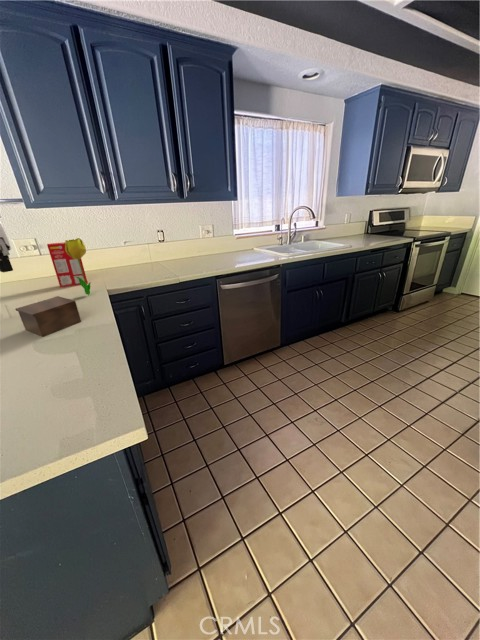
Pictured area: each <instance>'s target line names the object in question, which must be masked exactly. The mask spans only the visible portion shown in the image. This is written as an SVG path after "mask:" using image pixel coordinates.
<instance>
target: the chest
mask: <svg viewBox="0 0 480 640" xmlns="http://www.w3.org/2000/svg"><path fill="white" fill-rule="evenodd" d="M17 312H18V315H19V317H20V320H21V322H22V325H23V327H24V330H25V332H26V331H27V332H29V333H31V334H34V335H37V336H39V337H42V338H43V337H46V336H49V335H52V334H53V333H56V332H59V331H61V330H64V329H66V328H69V327H71V326H74V325H76V324H79V323H81V322H82V319H81V316H80V313H79V308H78V305H77V303H73V304H69V305H66V306H63V307H60V308H57V309H54V310H51V311H48V312H45V313H42V314H39V315H36V316H30V315H27V314H24V313H21V312H19V311H17Z"/></svg>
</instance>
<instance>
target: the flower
mask: <svg viewBox="0 0 480 640" xmlns="http://www.w3.org/2000/svg"><path fill="white" fill-rule="evenodd" d="M64 242H65V251H66V253H67V254H68V255H69V256H71V257H72V258H74V259H78V262H79V265H80V261H79V259H81V260H82V258H83V256H85V255H86V253H87V248H86V246H85V245H86V244H85V243H84V242H83V240H82V239H81V238H79V237H77V238H73V239H66V240H64ZM80 268H81V265H80ZM81 272H82V269H81ZM82 275H83V272H82ZM76 278H78V279H79V282H80V284H81V285H80V286H81V287H82V288H83V291H84V294H85V295H87V296H90V294H91V291H90V290H91V284H92V282H88V284H86V282H85V280H84V281H83V280H82V279H81V278H79V277H76ZM83 278H84V276H83Z"/></svg>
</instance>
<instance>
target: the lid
mask: <svg viewBox="0 0 480 640" xmlns="http://www.w3.org/2000/svg"><path fill="white" fill-rule="evenodd" d="M76 302H77V301H76V300H74V299H70V298H68V297H67V298H66V297H62V296H59V295H58V296H54V297H50V298H47V299H44V300H39V301H37V302H34V303H33V302H32V303H30V304H27V305H24V306H23V305H22V306H20V307H16V308H15V309H14V310H15V311H16V312H18V311H19V312H21V313H24V314H27V315H30V316H36V315H39V314H42V313H45V312H48V311H51V310H54V309H57V308H60V307H63V306H66V305H69V304H73V303H76ZM76 304H77V303H76ZM19 312H18V313H19Z"/></svg>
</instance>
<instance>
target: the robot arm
mask: <svg viewBox="0 0 480 640" xmlns="http://www.w3.org/2000/svg"><path fill="white" fill-rule="evenodd" d="M2 220H3V218H2V215H1V214H0V273H8V272H13V271H14V268H13V265H12V263H11V261H10V255H11V254H10V251H11V250H12V245H11V242H10V240H9V237H8V235H7V231H6V230H5V227H4V226H3V223H2V222H1V221H2Z"/></svg>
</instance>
